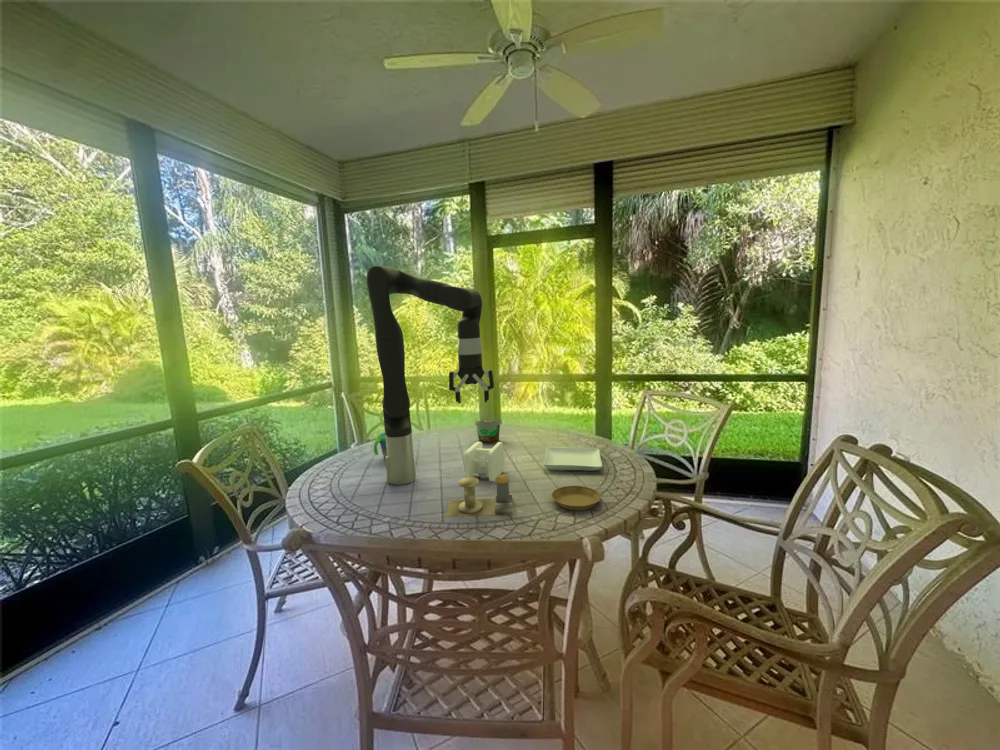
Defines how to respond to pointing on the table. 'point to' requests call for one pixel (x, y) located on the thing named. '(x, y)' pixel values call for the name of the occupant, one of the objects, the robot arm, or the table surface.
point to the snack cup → (383, 445)
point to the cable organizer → (484, 461)
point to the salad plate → (572, 459)
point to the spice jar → (502, 488)
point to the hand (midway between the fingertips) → (472, 402)
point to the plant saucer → (576, 497)
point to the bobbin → (469, 496)
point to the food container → (488, 431)
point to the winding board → (483, 508)
